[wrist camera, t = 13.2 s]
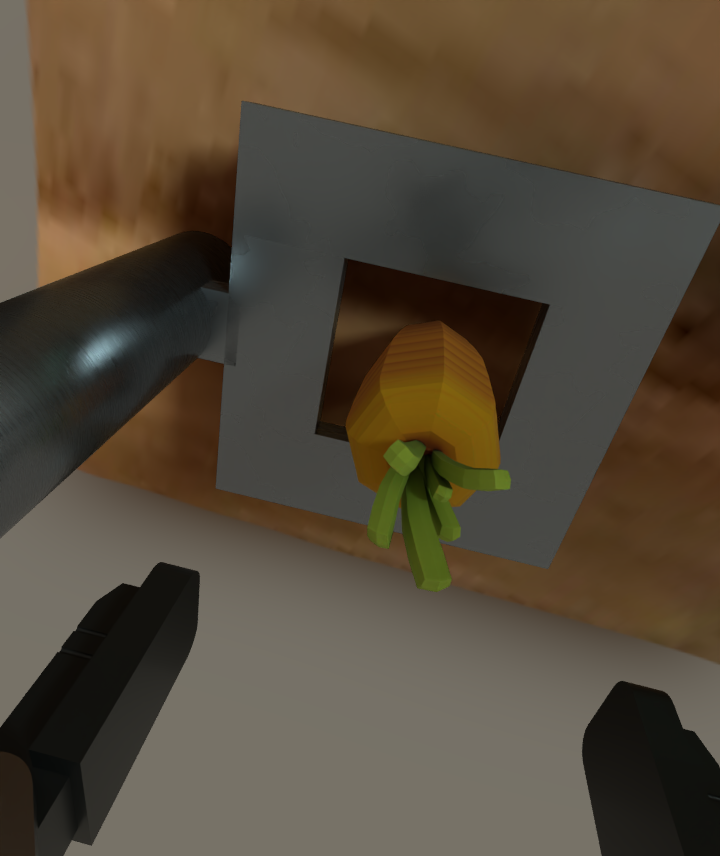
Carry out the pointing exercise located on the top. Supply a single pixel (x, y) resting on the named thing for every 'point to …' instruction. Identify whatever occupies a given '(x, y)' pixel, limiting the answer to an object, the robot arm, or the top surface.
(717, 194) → the top surface
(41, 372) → the square hole stand
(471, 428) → the carrot
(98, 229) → the top surface
